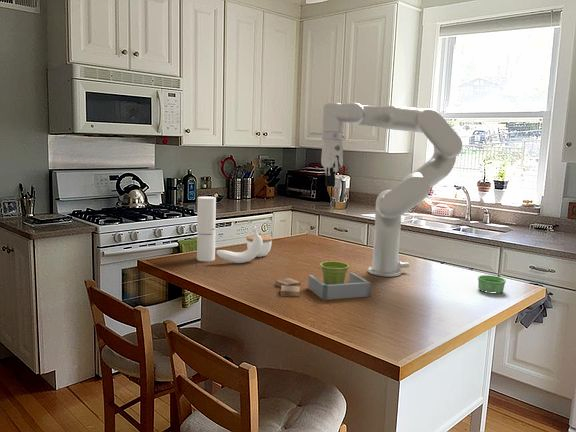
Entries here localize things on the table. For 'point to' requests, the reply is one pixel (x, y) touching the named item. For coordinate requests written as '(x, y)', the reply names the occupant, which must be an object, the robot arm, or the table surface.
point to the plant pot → (334, 272)
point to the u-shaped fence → (340, 288)
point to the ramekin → (491, 283)
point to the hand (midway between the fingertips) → (329, 186)
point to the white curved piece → (246, 255)
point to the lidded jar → (265, 245)
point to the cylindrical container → (206, 228)
